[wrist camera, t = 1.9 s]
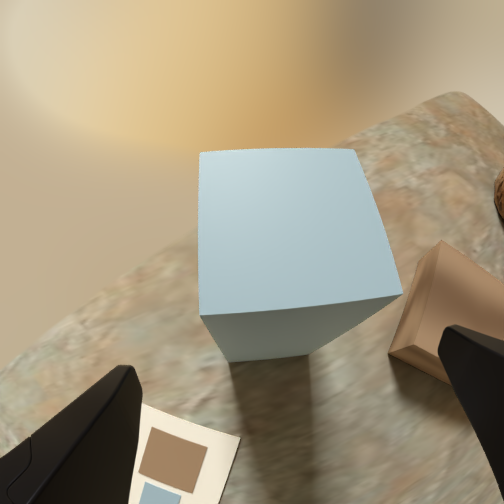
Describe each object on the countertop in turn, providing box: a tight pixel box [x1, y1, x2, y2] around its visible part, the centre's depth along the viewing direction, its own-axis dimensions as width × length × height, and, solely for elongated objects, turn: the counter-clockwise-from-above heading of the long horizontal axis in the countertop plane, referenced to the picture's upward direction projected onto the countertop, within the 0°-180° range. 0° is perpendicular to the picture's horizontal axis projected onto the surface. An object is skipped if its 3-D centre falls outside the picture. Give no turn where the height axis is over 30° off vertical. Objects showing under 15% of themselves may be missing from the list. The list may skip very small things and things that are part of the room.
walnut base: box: [388, 240, 504, 386], centre depth 16 cm, size 8×8×4 cm
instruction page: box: [128, 403, 240, 504], centre depth 13 cm, size 10×7×1 cm
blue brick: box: [198, 148, 403, 362], centre depth 13 cm, size 5×5×12 cm
